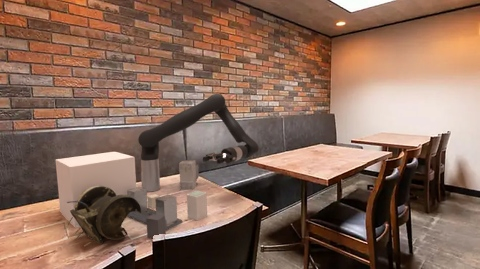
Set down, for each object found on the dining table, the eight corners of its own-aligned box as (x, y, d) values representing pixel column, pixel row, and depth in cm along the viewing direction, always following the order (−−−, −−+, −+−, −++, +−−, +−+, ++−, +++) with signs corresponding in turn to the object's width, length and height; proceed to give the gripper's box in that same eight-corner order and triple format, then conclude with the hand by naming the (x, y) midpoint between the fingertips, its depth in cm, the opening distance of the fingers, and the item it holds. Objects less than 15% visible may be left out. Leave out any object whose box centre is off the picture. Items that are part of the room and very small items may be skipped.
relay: (147, 236, 95) (146, 218, 94) (154, 231, 99) (153, 213, 98) (158, 239, 93) (158, 220, 93) (165, 233, 97) (164, 215, 96)
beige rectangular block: (147, 206, 124) (147, 196, 123) (155, 204, 126) (155, 193, 126) (151, 208, 121) (151, 198, 120) (160, 206, 124) (159, 195, 123)
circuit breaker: (199, 182, 160) (198, 158, 158) (193, 190, 146) (192, 163, 144) (187, 182, 161) (186, 158, 159) (179, 189, 147) (178, 163, 145)
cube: (118, 198, 135) (114, 151, 133) (137, 209, 121) (134, 156, 118) (60, 213, 117) (55, 159, 114) (75, 229, 103) (70, 167, 100)
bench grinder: (122, 208, 113) (96, 171, 104) (151, 219, 98) (124, 177, 90) (77, 246, 99) (43, 207, 91) (103, 266, 85) (66, 222, 77)
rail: (124, 215, 114) (123, 190, 112) (142, 208, 121) (141, 185, 120) (164, 231, 99) (163, 202, 98) (182, 222, 106) (181, 195, 105)
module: (187, 217, 111) (186, 193, 110) (197, 212, 116) (197, 189, 115) (197, 220, 108) (196, 196, 107) (207, 215, 113) (206, 192, 111)
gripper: (220, 146, 137) (198, 151, 124) (243, 148, 129) (222, 153, 116) (220, 160, 138) (199, 166, 125) (243, 163, 130) (222, 170, 117)
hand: (210, 160), depth 121 cm, fingers open, 8 cm apart
